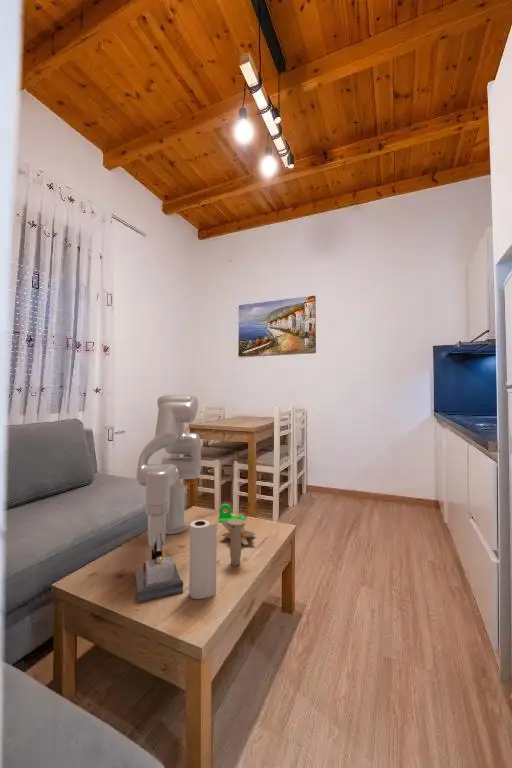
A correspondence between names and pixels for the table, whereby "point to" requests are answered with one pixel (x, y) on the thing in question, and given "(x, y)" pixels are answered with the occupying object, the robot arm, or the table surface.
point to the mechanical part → (227, 514)
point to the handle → (235, 540)
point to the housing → (159, 571)
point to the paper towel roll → (202, 559)
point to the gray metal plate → (157, 587)
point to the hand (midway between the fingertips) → (156, 562)
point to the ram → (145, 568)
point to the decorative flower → (243, 533)
